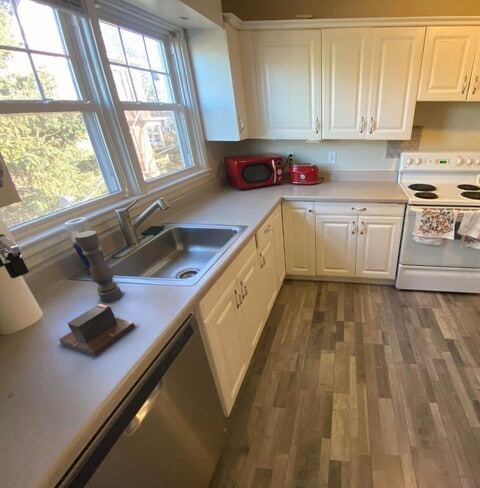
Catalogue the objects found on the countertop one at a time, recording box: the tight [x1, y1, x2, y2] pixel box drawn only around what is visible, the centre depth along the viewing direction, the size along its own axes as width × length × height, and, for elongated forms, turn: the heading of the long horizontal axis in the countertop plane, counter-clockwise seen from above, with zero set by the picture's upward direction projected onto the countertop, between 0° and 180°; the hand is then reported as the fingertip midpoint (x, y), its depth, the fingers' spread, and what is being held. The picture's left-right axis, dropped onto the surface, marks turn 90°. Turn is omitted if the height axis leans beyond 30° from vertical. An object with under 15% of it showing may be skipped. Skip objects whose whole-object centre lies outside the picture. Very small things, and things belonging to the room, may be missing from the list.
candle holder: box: [73, 230, 123, 304], centre depth 95 cm, size 6×6×25 cm
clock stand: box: [58, 315, 136, 357], centre depth 83 cm, size 14×13×2 cm
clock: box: [67, 303, 117, 343], centre depth 81 cm, size 9×4×6 cm, turn 161°
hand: (7, 271), depth 68 cm, fingers open, 9 cm apart
